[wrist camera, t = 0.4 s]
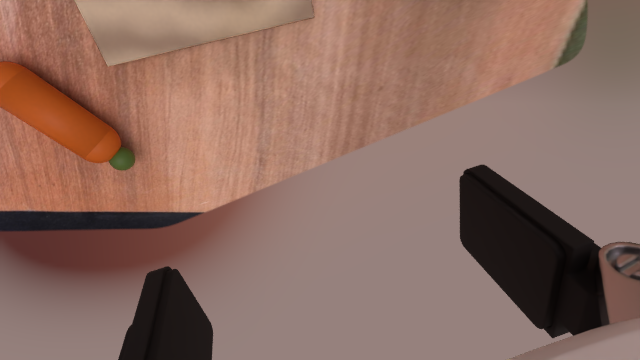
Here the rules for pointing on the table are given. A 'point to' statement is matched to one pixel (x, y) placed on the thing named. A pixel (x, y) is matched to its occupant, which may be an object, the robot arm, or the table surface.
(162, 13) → the chopping board
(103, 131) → the carrot
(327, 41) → the table surface
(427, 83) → the table surface
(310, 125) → the table surface
